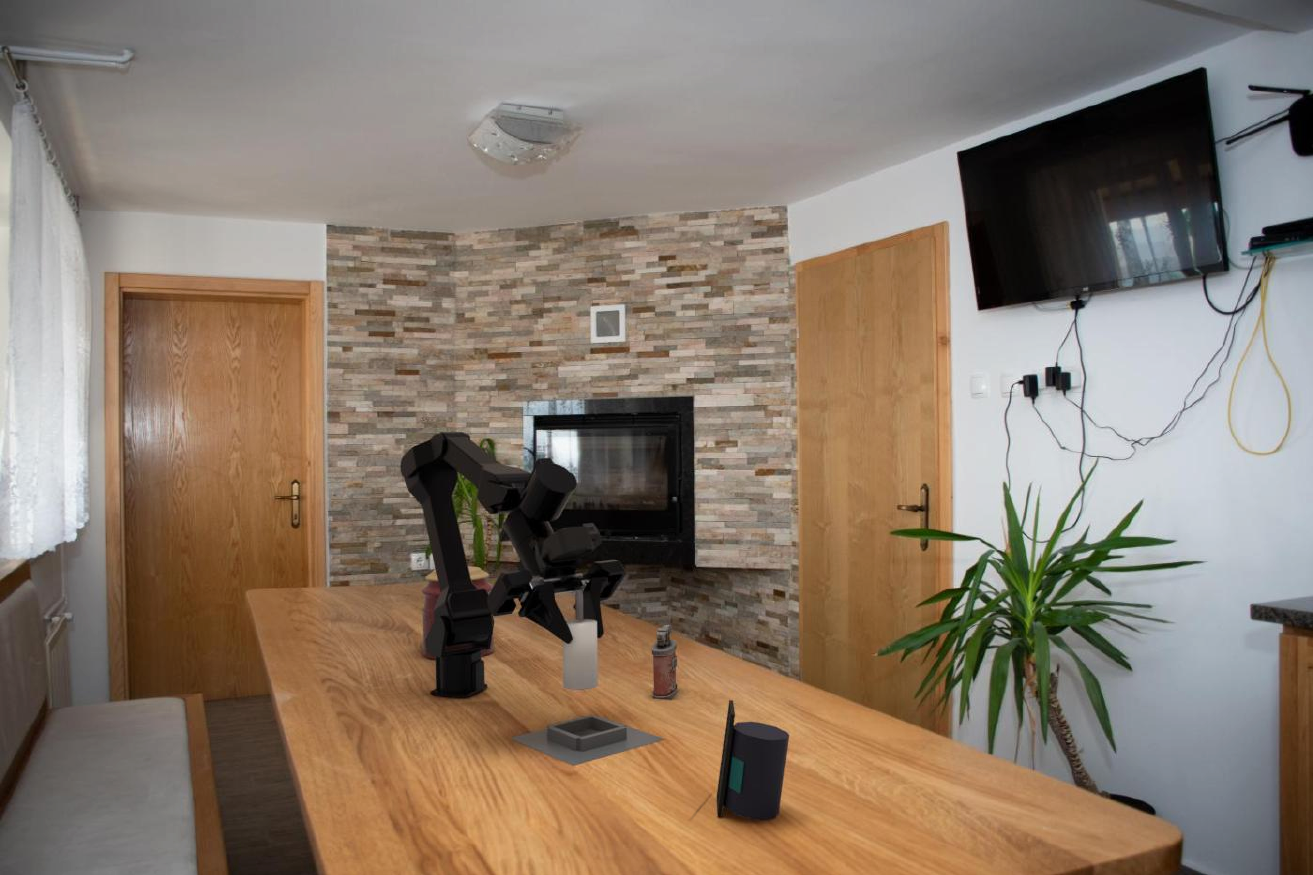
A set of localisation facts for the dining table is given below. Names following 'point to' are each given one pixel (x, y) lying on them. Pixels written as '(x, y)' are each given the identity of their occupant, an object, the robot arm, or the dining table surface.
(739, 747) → the speaker
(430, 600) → the canister
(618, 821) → the dining table surface
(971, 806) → the dining table surface
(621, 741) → the dock
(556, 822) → the dining table surface
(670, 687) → the lighter
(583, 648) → the plug
